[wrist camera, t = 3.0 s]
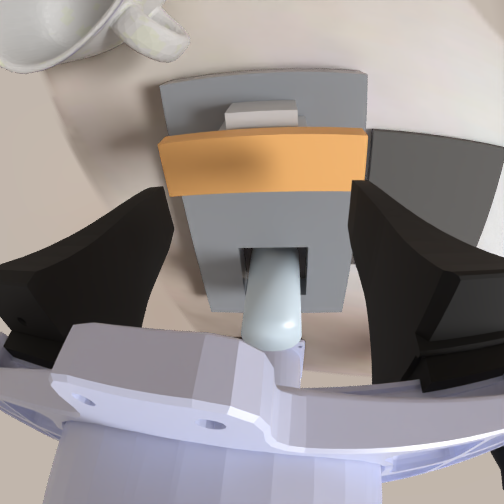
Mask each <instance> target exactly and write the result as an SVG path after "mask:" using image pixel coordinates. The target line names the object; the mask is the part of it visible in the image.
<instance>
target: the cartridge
mask: <svg viewBox="0 0 504 504" xmlns="http://www.w3.org/2000/svg"><path fill="white" fill-rule="evenodd" d="M241 336H242V339H243V340H244V341H245V342H246V343H248V344H250V345H252V346H254V347H256V348H258V349H260V350H263V351H282V350H286V349H289V348H292V347H293V346H295V345H296V344H297V343H298V342H299V341H300V339H301V336H302V334H301V295H300V268H299V253H298V250H297V248H296V247H274V248H253V250H252V254H251V261H250V269H249V276H248V284H247V291H246V299H245V307H244V314H243V322H242V329H241Z"/></svg>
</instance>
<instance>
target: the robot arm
mask: <svg viewBox="0 0 504 504" xmlns="http://www.w3.org/2000/svg"><path fill="white" fill-rule="evenodd" d="M347 226H348V232H349V239H350V245H351V249H352V253H353V256H354V260H355V263H356V266H357V270H358V273H359V277H360V280H361V284H362V288H363V291H364V296H365V300H366V306H367V314H368V322H369V331H370V342H371V358H372V385H362V386H348V387H327V388H300V379H301V378H302V369H303V360H304V350H305V341H304V340H300V341H299V342H298V343H297V344H296V345H295V346H293V347H292V348H289V349H286V350H282V351H263V350H260V349H258V348H256V347H254V346H252V345H250V344H248V343H246V342H245V341H244V340H243V339H239V338H235V337H230V336H224V335H219V334H214V333H209V332H192V331H176V330H163V329H149V328H142V323H143V319H144V314H145V311H146V307H147V303H148V300H149V297H150V294H151V291H152V289H153V286H154V284H155V282H156V279H157V277H158V274H159V272H160V270H161V267H162V265H163V263H164V260H165V258H166V255H167V253H168V251H169V248H170V244H171V240H172V236H173V232H174V226H173V222H172V218H171V214H170V211H169V207H168V203H167V199H166V195H165V191H164V188H163V186H162V187H151V188H148V189H145V190H143V191H141V192H140V193H138V194H136V195H135V196H133V197H131V198H130V199H128V200H127V201H125V202H124V203H122V204H121V205H119V206H118V207H116V208H115V209H113V210H112V211H110V212H109V213H107V214H106V215H104V216H103V217H101V218H99V219H98V220H96V221H95V222H93V223H92V224H90V225H88V226H87V227H85V228H84V229H82V230H80V231H78V232H76V233H75V234H73V235H71V236H69V237H67V238H65V239H63V240H61V241H59V242H57V243H55V244H53V245H51V246H49V247H46V248H44V249H42V250H40V251H37V252H34V253H32V254H29V255H27V256H24V257H22V258H18V259H15V260H12V261H9V262H6V263H3V264H1V265H0V317H1V318H2V319H3V321H4V322H5V323H6V324H7V325H8V327H9V328H10V329H11V330H12V331H11V333H10V334H9V336H7V335H5V334H4V333H2V332H0V410H1V411H3V412H4V413H6V414H8V415H10V416H11V417H13V418H15V419H17V420H19V421H20V422H22V423H24V424H26V425H28V426H30V427H32V428H34V429H35V430H37V431H39V432H41V433H43V434H45V435H47V436H49V437H51V438H53V439H56V440H58V441H59V445H58V448H57V451H56V455H55V458H54V461H53V465H52V468H51V472H50V476H49V479H48V483H47V488H46V491H45V496H44V500H43V504H382V483H384V482H390V481H395V480H399V479H404V478H408V477H412V476H416V475H420V474H424V473H427V472H431V471H434V470H438V469H441V468H444V467H447V466H450V465H453V464H457V463H459V462H462V461H465V460H468V459H471V458H473V457H476V456H479V455H481V454H484V453H486V452H489V451H491V450H494V449H496V448H499V447H501V446H504V257H501V256H498V255H495V254H492V253H489V252H486V251H484V250H481V249H479V248H477V247H474V246H472V245H470V244H467V243H465V242H463V241H461V240H459V239H457V238H455V237H453V236H451V235H449V234H447V233H445V232H443V231H441V230H440V229H438V228H436V227H435V226H433V225H431V224H430V223H428V222H426V221H425V220H423V219H421V218H420V217H418V216H417V215H415V214H414V213H413V212H411V211H410V210H408V209H407V208H405V207H404V206H403V205H401V204H400V203H399V202H397V201H396V200H395V199H393V198H392V197H391V196H389V195H388V194H387V193H385V192H384V191H383V190H381V189H380V188H379V187H377V186H376V185H374V184H373V183H371V182H370V181H368V180H352V185H351V196H350V206H349V216H348V225H347Z"/></svg>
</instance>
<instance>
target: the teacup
mask: <svg viewBox="0 0 504 504" xmlns="http://www.w3.org/2000/svg"><path fill="white" fill-rule="evenodd" d="M165 1H166V0H0V67H1V68H5V69H6V70H9V71H11V72H15V73H20V74H28V73H33V72H38V71H42V70H46V69H48V68H51V67H53V66H55V65H57V64H62V63H66V62H71V61H75V60H80V59H84V58H88V57H91V56H94V55H98V54H100V53H103V52H106V51H109V50H111V49H113V48H115V47H117V46H119V45H120V44H122V43H125V44H127V45H128V46H129V47H131V48H132V49H134V50H135V51H137V52H138V53H140V54H142V55H144V56H146V57H148V58H150V59H153V60H156V61H159V62H167V63H168V62H172V61H175V60H176V59H178V58H179V57H180V56H181V55H182V54H183V52H184V51H185V50H186V49H187V48H188V46H189V44H190V37H189V35H188V33H187V32H186V31H185V30H184V28H183V27H182V26H181V25H180V24H178V23H177V22H176V21H175V20H174V19H173V18H172V17H170V16H169V15H168V14H167V13H166V11H165V10H164V9H163V8H162V5H163V4H164V3H165Z"/></svg>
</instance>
